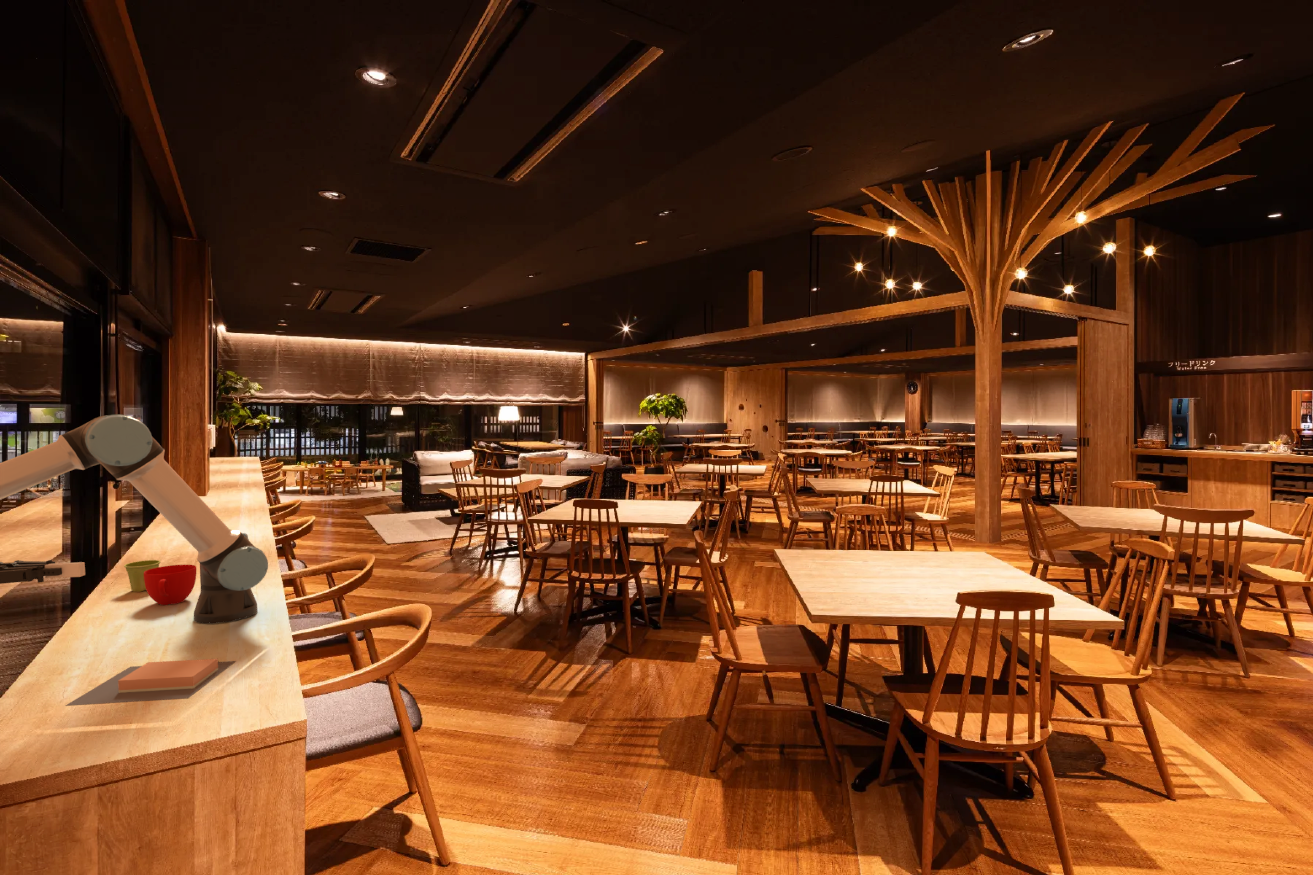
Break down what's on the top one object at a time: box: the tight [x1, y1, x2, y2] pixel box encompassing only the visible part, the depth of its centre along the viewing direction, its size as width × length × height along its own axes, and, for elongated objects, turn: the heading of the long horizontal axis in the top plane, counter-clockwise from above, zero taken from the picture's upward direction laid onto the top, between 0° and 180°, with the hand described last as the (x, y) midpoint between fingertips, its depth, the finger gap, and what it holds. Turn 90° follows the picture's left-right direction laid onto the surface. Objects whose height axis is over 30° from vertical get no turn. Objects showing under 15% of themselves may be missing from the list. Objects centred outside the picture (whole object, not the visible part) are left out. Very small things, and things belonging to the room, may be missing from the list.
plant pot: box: [123, 559, 161, 593], centre depth 217 cm, size 9×9×9 cm
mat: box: [65, 660, 237, 707], centre depth 142 cm, size 22×20×1 cm
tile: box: [118, 658, 219, 693], centre depth 142 cm, size 2×10×14 cm
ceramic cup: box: [144, 564, 197, 606], centre depth 201 cm, size 13×17×10 cm
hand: (82, 569), depth 140 cm, fingers closed
